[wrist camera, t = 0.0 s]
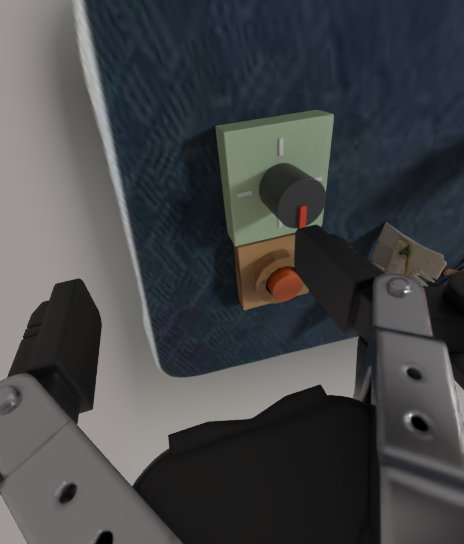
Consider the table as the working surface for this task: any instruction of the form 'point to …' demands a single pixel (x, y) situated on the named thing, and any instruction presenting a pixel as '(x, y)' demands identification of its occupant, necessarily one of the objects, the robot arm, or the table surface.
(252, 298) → the button box
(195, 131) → the table surface
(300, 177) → the knob
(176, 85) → the table surface
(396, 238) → the comb
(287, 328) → the table surface
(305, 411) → the robot arm
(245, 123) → the green dial box
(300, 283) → the button
